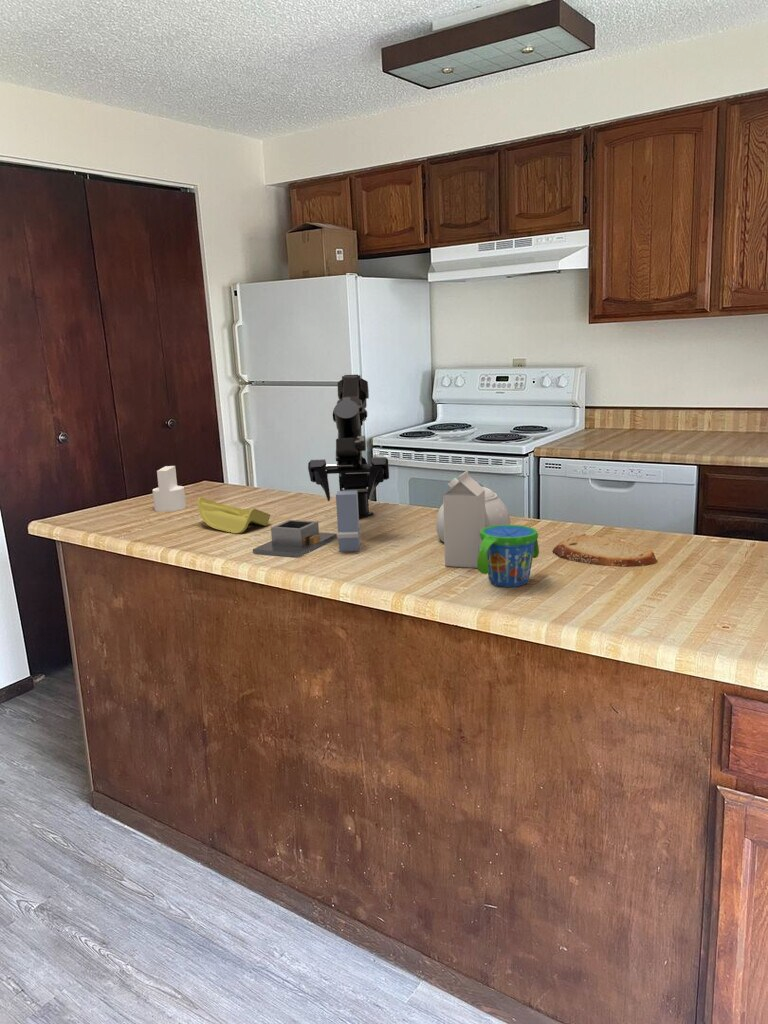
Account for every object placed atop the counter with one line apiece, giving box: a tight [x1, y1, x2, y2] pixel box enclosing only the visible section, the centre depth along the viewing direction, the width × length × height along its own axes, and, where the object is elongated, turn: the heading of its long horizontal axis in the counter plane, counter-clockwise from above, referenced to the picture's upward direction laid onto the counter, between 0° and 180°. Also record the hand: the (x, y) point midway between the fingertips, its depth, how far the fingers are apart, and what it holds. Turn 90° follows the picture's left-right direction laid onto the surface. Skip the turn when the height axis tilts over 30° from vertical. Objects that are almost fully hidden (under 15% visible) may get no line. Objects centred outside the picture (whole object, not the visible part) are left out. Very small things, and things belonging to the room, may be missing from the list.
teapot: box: [435, 481, 511, 543], centre depth 179 cm, size 19×18×14 cm
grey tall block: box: [335, 490, 361, 552], centre depth 175 cm, size 9×4×13 cm, turn 179°
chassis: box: [252, 519, 338, 558], centre depth 181 cm, size 18×12×5 cm, turn 155°
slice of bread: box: [551, 533, 658, 568], centre depth 162 cm, size 18×18×4 cm
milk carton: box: [442, 469, 485, 569], centre depth 160 cm, size 7×7×19 cm
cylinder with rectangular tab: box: [152, 465, 187, 513], centre depth 229 cm, size 9×9×12 cm
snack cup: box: [476, 524, 540, 588], centre depth 147 cm, size 16×10×10 cm
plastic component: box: [197, 496, 271, 534], centre depth 204 cm, size 20×7×10 cm
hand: (348, 499), depth 178 cm, fingers open, 9 cm apart
